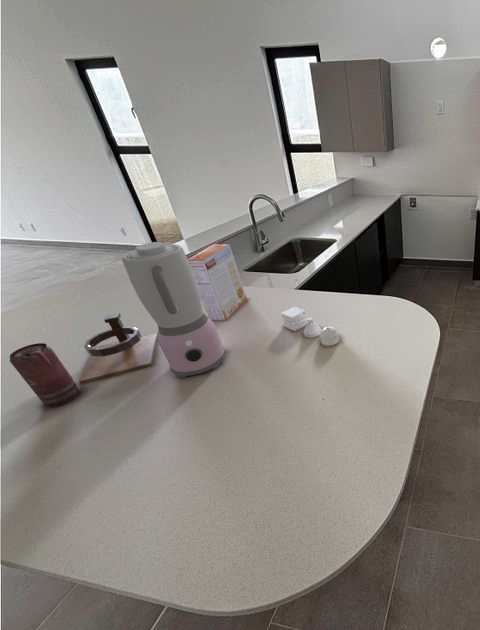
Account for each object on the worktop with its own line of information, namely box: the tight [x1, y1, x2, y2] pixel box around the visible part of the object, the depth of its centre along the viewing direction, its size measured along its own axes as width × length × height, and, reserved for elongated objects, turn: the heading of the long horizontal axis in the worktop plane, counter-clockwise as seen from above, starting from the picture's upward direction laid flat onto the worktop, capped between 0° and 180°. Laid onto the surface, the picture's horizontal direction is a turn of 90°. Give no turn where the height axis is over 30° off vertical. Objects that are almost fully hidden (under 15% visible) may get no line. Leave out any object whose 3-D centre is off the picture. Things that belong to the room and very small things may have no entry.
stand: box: [78, 312, 158, 385], centre depth 86 cm, size 14×16×10 cm
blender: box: [121, 241, 227, 378], centre depth 77 cm, size 16×12×32 cm
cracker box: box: [187, 243, 248, 321], centre depth 105 cm, size 14×6×21 cm, turn 178°
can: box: [9, 342, 82, 409], centre depth 72 cm, size 6×6×14 cm
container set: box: [281, 306, 340, 347], centre depth 97 cm, size 20×5×6 cm, turn 56°
